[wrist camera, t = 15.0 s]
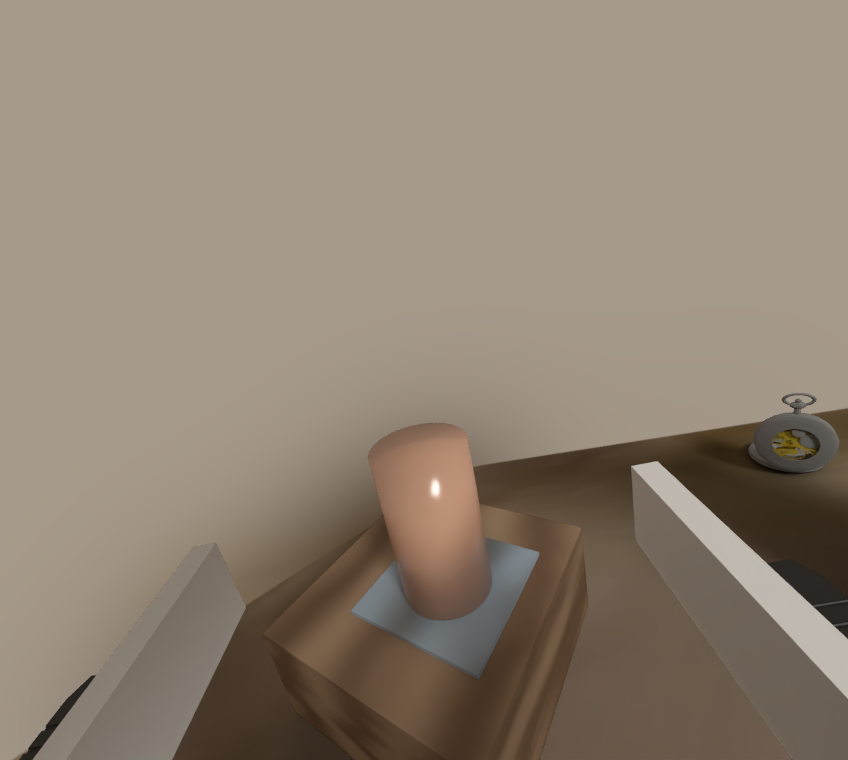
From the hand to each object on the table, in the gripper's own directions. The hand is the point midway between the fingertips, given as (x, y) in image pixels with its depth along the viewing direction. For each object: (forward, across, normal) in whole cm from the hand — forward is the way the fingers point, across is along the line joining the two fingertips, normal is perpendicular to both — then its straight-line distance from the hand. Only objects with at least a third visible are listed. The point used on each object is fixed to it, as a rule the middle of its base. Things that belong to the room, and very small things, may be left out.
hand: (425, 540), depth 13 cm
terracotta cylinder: (+12, -1, -14) cm, 19 cm away
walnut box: (+13, -3, -22) cm, 26 cm away
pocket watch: (+30, +37, -24) cm, 53 cm away
